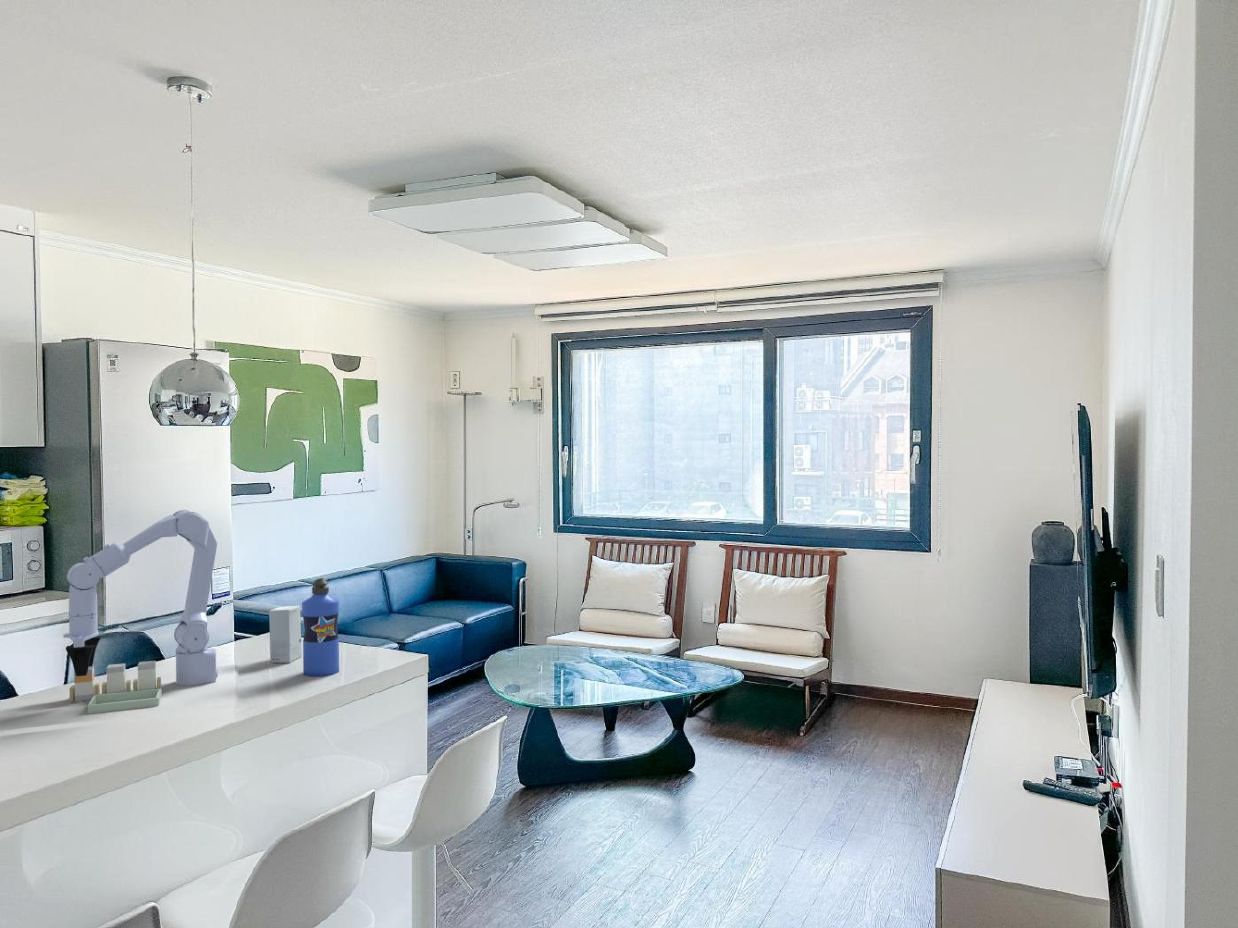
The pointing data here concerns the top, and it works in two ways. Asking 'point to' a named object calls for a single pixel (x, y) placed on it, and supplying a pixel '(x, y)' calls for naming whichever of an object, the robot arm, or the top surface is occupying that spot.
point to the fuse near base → (147, 675)
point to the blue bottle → (320, 632)
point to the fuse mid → (116, 678)
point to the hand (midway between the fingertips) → (84, 671)
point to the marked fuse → (84, 685)
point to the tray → (125, 704)
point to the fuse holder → (104, 689)
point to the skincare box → (285, 634)
